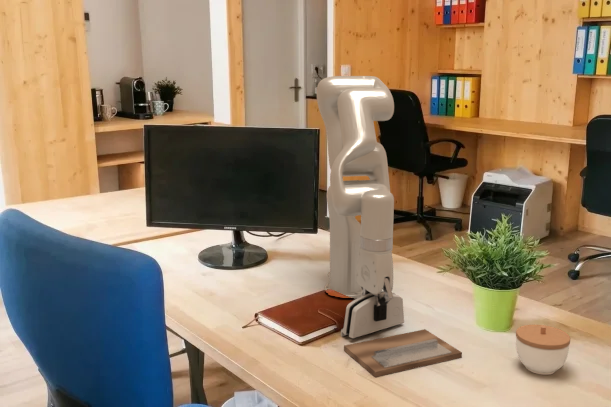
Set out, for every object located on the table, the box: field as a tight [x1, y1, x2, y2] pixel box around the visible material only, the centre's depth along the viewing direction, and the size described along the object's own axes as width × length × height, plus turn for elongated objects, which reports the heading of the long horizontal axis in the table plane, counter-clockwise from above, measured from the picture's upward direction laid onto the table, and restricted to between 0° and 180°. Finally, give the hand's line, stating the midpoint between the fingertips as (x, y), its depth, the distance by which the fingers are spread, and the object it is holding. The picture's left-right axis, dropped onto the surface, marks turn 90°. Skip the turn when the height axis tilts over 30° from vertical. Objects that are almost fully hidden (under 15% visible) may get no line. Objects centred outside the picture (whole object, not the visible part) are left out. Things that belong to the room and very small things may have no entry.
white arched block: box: [340, 292, 405, 339], centre depth 150 cm, size 17×5×10 cm, turn 125°
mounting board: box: [343, 328, 463, 378], centre depth 139 cm, size 14×22×1 cm, turn 114°
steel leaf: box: [371, 339, 451, 368], centre depth 136 cm, size 6×17×1 cm, turn 114°
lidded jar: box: [515, 324, 571, 376], centre depth 132 cm, size 11×11×9 cm
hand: (374, 315), depth 150 cm, fingers open, 4 cm apart
